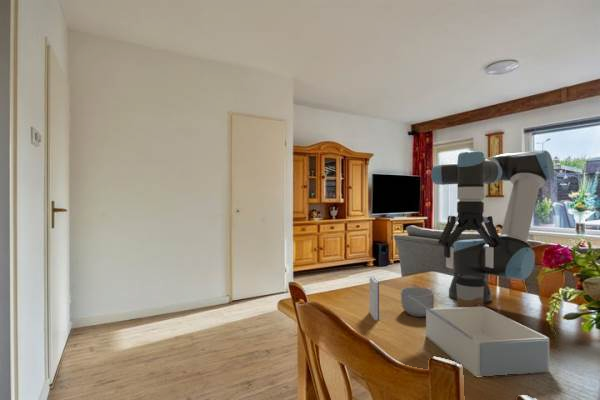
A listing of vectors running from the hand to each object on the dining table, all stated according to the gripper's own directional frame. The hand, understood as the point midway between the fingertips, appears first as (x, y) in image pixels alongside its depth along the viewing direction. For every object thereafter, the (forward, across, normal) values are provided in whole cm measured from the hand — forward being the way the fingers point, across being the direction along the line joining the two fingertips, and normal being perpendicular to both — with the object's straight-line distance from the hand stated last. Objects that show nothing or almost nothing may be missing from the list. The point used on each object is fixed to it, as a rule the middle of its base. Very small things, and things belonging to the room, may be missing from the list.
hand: (469, 267), depth 105 cm
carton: (+18, +10, +19) cm, 28 cm away
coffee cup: (+18, 0, 0) cm, 18 cm away
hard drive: (+18, +28, -10) cm, 35 cm away
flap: (+10, +19, +19) cm, 28 cm away
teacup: (+18, +12, -12) cm, 25 cm away
